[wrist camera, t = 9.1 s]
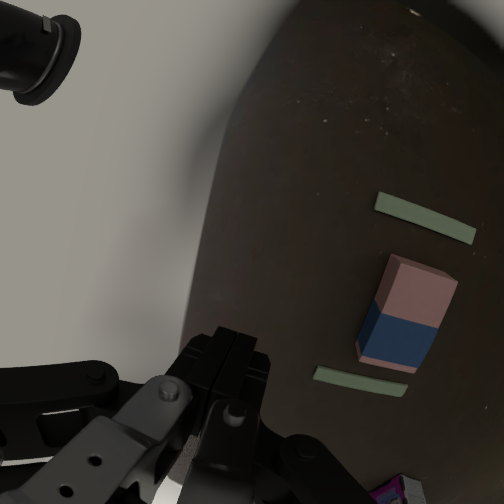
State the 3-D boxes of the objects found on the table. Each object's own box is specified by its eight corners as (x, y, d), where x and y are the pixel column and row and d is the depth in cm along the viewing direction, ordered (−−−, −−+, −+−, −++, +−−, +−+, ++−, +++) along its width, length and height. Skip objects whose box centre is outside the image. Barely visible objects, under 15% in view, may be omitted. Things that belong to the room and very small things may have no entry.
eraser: (354, 343, 20) (357, 362, 18) (389, 253, 18) (400, 262, 16) (406, 356, 20) (415, 374, 17) (444, 271, 18) (459, 282, 15)
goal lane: (312, 376, 21) (312, 379, 21) (378, 191, 18) (379, 191, 17) (400, 395, 20) (401, 397, 20) (474, 228, 17) (476, 229, 16)
